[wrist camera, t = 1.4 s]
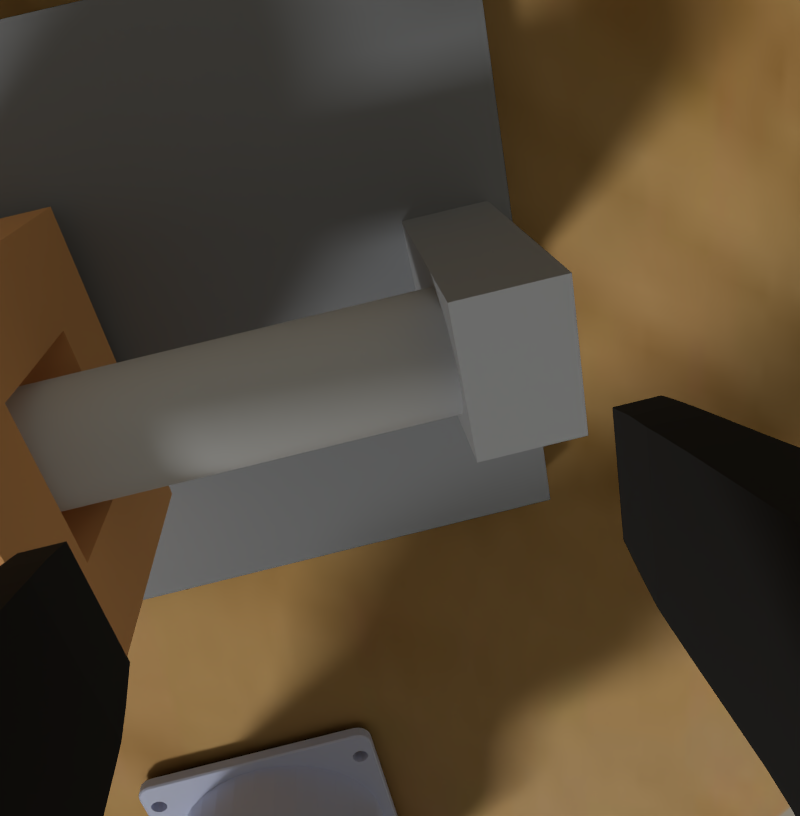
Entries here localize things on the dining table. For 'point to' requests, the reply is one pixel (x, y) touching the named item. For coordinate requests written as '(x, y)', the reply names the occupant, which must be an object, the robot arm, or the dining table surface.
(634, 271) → the dining table surface
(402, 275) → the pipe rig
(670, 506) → the robot arm
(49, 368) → the collar
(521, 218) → the dining table surface
